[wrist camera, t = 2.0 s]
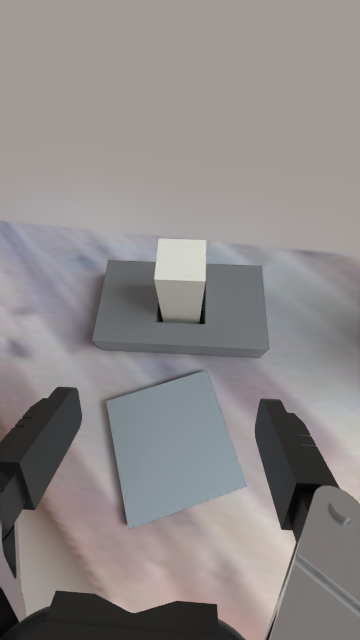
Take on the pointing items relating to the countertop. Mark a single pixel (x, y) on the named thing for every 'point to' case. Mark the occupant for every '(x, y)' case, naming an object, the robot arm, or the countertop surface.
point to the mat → (172, 448)
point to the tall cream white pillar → (180, 279)
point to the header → (181, 338)
